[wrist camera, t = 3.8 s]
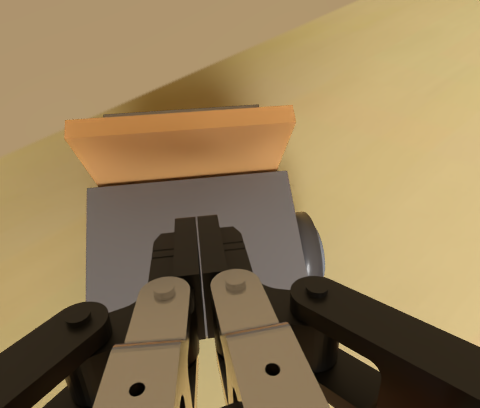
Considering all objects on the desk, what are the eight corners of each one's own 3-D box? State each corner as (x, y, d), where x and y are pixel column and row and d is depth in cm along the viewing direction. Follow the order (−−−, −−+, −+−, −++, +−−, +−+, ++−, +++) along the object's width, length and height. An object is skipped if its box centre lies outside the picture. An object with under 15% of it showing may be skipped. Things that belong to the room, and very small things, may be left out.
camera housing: (127, 349, 28) (85, 353, 18) (124, 234, 31) (86, 188, 21) (307, 323, 29) (353, 315, 20) (287, 217, 32) (319, 167, 23)
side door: (129, 229, 30) (64, 138, 17) (128, 209, 31) (65, 105, 17) (258, 216, 32) (295, 122, 18) (255, 197, 32) (289, 92, 19)
